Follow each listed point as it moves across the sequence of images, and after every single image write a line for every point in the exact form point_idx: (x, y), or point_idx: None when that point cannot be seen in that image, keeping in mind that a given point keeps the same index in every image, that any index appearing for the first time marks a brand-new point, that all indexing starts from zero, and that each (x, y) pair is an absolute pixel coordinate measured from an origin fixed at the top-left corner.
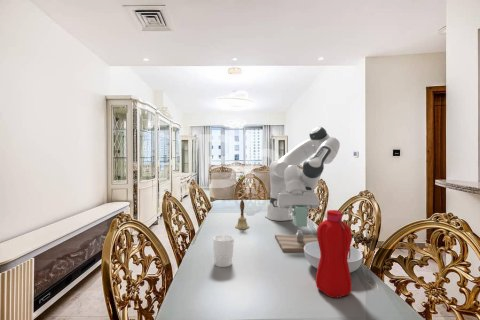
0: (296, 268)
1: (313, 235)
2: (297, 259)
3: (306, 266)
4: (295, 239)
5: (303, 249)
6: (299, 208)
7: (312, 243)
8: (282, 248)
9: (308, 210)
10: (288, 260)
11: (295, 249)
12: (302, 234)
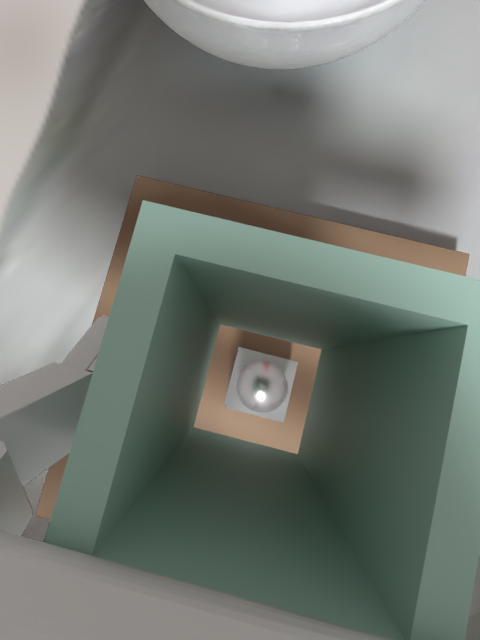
0: (476, 16)
1: (51, 489)
2: (412, 122)
3: (407, 25)
4: (272, 426)
5: (313, 220)
6: (401, 271)
7: (342, 16)
8: (464, 267)
9: (54, 367)
10: (475, 122)
11: (371, 234)
12: (238, 364)
